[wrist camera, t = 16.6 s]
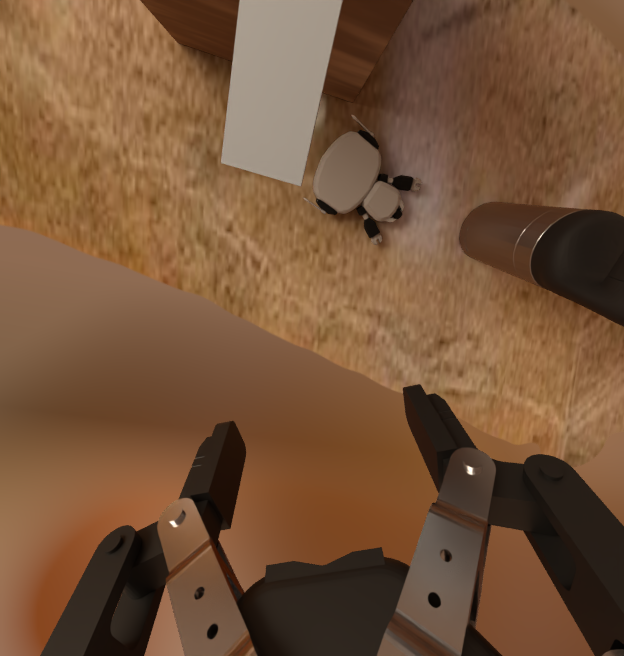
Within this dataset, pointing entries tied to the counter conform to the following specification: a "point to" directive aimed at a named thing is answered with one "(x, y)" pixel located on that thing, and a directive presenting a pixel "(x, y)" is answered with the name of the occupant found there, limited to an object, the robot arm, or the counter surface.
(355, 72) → the wooden box
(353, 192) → the robot toy
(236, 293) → the counter surface
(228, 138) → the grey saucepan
